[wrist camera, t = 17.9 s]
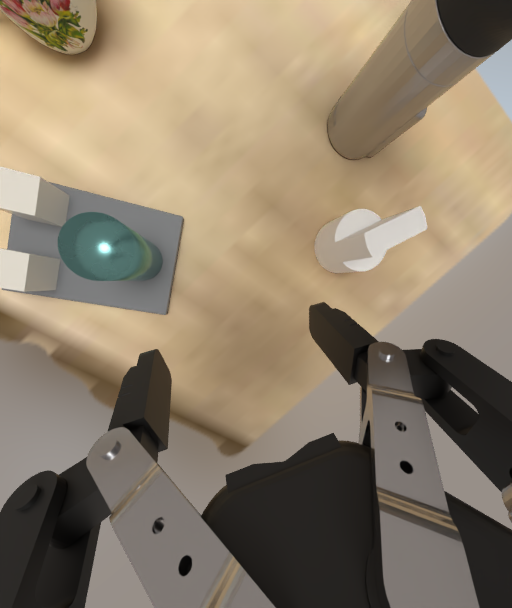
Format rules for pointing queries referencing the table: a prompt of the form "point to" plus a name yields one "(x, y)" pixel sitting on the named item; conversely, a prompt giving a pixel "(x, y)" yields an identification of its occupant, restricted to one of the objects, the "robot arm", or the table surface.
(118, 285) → the slate board
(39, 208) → the cream cube
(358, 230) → the base with upright slab
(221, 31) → the table surface
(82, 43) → the pitcher
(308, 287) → the table surface
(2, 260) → the cream cube
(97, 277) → the teal glass cylinder
